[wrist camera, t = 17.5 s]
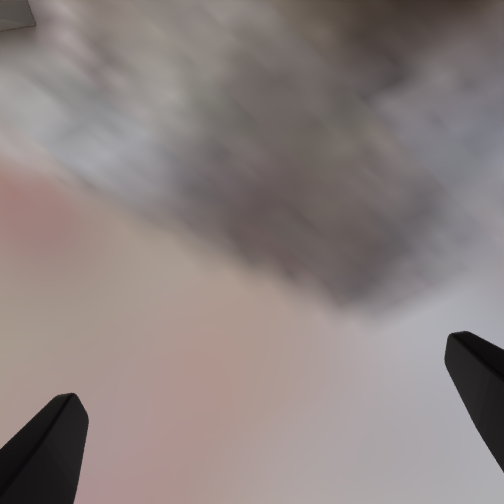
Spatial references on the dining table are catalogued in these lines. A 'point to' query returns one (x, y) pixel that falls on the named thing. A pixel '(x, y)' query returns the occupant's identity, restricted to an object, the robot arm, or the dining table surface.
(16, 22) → the trough
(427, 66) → the dining table surface
